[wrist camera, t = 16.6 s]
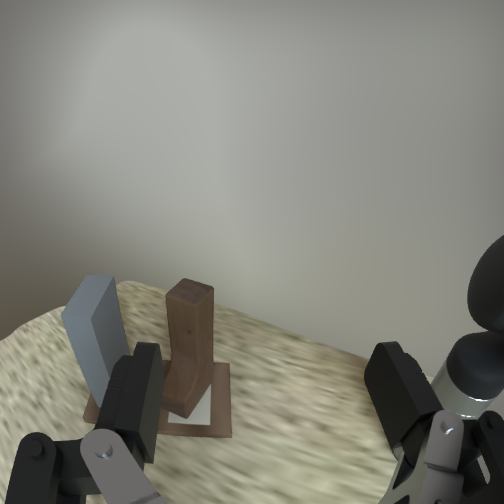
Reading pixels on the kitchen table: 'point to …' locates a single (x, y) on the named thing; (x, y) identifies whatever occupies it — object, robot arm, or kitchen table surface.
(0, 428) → the kitchen table surface
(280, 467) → the kitchen table surface
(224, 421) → the base board
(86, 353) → the slate post
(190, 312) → the wooden block
